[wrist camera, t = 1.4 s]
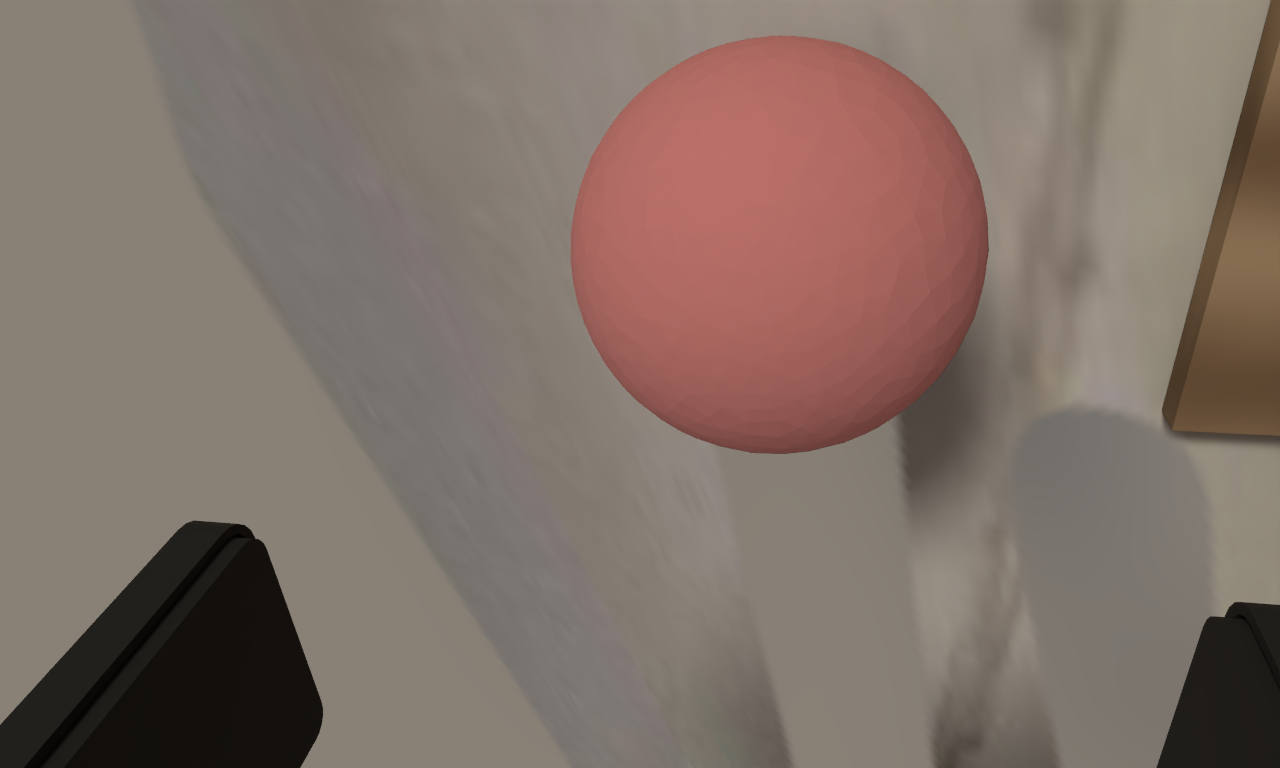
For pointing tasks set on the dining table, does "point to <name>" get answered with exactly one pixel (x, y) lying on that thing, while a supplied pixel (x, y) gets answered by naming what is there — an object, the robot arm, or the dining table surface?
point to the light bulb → (779, 244)
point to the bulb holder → (1239, 278)
